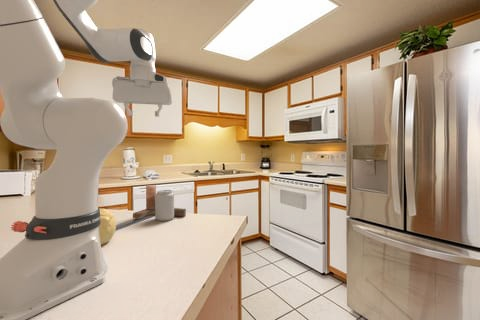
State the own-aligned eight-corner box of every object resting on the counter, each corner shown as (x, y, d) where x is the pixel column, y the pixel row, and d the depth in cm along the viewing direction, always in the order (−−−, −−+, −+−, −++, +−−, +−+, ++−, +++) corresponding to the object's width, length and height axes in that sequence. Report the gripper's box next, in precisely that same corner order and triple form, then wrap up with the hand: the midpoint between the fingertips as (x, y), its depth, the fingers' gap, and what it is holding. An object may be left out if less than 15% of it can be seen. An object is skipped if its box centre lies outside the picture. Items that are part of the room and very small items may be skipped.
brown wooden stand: (166, 224, 88) (166, 190, 88) (131, 220, 93) (131, 188, 93) (185, 215, 101) (185, 186, 100) (154, 212, 106) (154, 184, 106)
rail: (108, 233, 79) (108, 230, 79) (103, 232, 79) (103, 229, 79) (160, 213, 105) (160, 211, 105) (156, 213, 106) (156, 210, 106)
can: (170, 221, 93) (170, 192, 92) (152, 221, 93) (152, 191, 92) (176, 216, 100) (176, 189, 100) (159, 216, 100) (159, 189, 100)
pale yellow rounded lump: (63, 253, 63) (62, 214, 63) (80, 238, 74) (80, 204, 74) (109, 249, 66) (109, 211, 66) (119, 235, 77) (119, 203, 77)
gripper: (109, 73, 80) (110, 113, 80) (171, 77, 84) (171, 115, 85) (114, 78, 86) (115, 116, 86) (172, 82, 91) (172, 118, 91)
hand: (143, 115), depth 86 cm, fingers open, 8 cm apart
